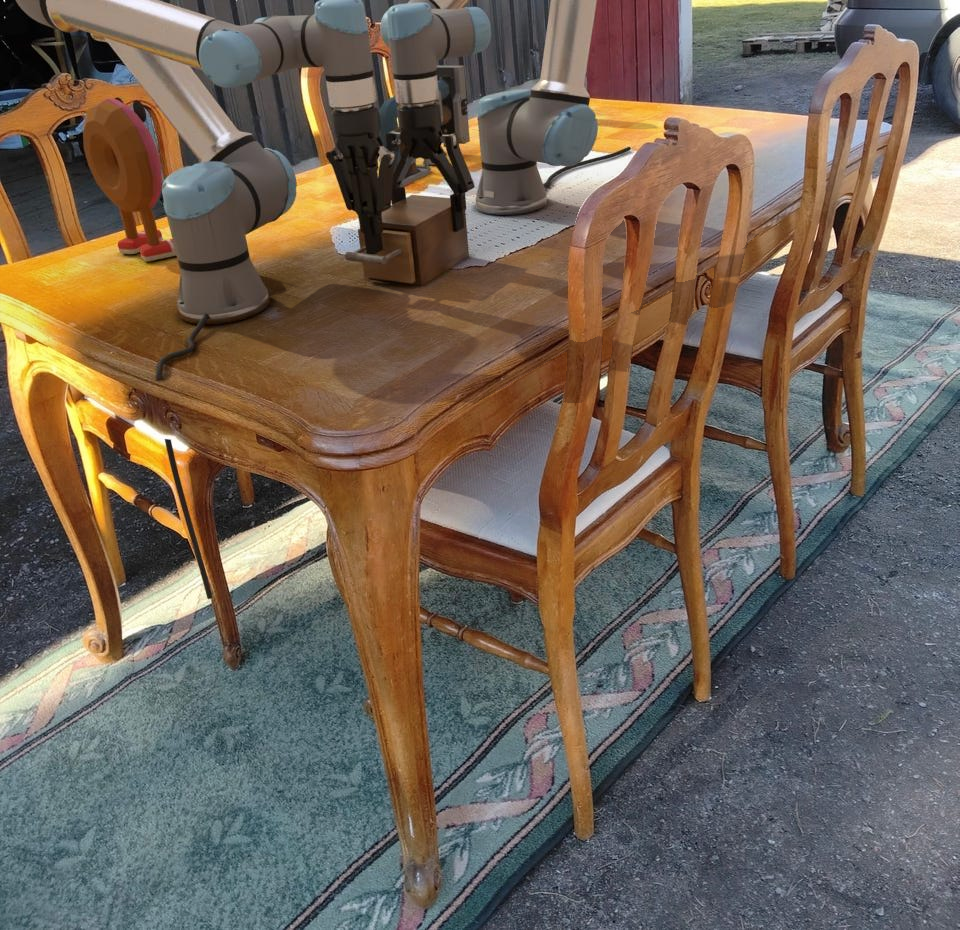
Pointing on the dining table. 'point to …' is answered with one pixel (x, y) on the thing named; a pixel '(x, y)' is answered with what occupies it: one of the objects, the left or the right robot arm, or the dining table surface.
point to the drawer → (388, 257)
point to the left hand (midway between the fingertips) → (375, 251)
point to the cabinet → (428, 234)
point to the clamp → (451, 116)
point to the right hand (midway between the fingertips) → (430, 226)
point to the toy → (127, 172)
